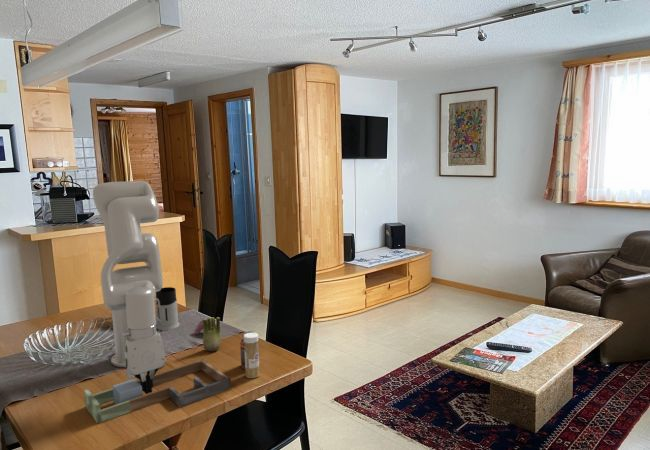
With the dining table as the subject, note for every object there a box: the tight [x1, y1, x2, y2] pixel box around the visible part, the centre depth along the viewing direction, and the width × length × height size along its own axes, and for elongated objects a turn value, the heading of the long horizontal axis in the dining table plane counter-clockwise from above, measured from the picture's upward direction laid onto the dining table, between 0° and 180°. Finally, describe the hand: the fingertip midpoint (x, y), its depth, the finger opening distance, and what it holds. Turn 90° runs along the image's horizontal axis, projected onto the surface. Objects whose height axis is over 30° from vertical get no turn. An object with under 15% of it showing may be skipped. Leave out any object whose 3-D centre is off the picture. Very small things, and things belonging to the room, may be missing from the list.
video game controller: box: [193, 318, 222, 335], centre depth 186 cm, size 10×5×7 cm, turn 59°
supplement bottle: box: [239, 330, 260, 370], centre depth 158 cm, size 6×6×11 cm
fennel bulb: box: [202, 316, 222, 352], centre depth 171 cm, size 6×5×12 cm
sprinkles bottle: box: [242, 332, 261, 379], centre depth 151 cm, size 5×5×14 cm
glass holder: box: [154, 286, 180, 331], centre depth 192 cm, size 9×14×15 cm, turn 168°
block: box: [112, 378, 144, 405], centre depth 137 cm, size 6×6×5 cm
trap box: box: [83, 359, 232, 424], centre depth 140 cm, size 18×36×5 cm, turn 131°
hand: (147, 391), depth 141 cm, fingers closed
